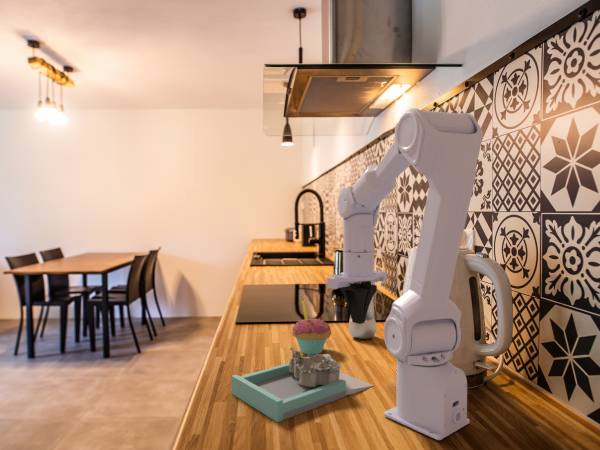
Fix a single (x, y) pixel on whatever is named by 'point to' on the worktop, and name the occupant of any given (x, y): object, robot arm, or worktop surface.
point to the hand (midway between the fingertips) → (358, 322)
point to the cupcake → (311, 333)
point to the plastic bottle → (364, 324)
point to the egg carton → (314, 369)
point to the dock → (289, 391)
